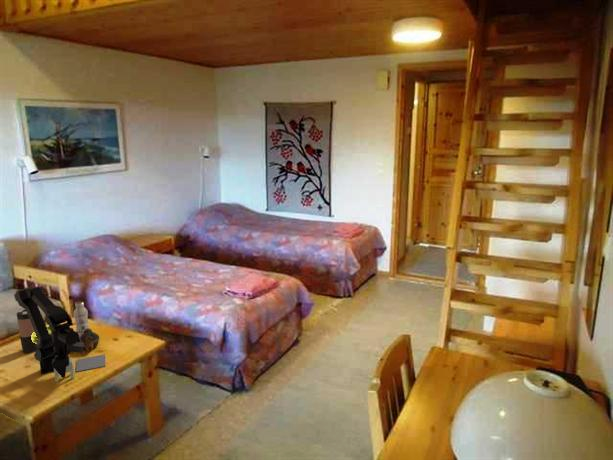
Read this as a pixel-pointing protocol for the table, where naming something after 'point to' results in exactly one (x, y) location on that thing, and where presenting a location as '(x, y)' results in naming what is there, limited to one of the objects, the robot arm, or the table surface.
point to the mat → (90, 363)
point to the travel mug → (26, 332)
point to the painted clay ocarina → (89, 339)
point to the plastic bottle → (80, 318)
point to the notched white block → (68, 369)
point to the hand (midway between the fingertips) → (64, 372)
